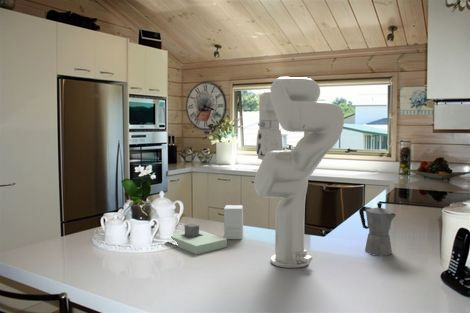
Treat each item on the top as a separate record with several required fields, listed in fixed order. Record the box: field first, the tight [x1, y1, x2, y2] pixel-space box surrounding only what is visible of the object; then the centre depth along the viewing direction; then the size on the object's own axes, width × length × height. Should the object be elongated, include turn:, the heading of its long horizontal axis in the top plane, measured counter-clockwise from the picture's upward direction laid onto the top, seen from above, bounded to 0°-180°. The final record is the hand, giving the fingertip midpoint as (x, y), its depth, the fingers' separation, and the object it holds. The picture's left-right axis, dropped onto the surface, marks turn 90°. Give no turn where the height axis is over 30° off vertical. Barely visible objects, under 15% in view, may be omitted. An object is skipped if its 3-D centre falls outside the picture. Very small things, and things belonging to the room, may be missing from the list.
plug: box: [184, 223, 200, 238], centre depth 160 cm, size 4×4×7 cm
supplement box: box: [223, 204, 244, 240], centre depth 169 cm, size 7×7×13 cm
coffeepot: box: [358, 202, 397, 256], centre depth 149 cm, size 15×9×18 cm, turn 34°
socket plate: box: [171, 229, 228, 255], centre depth 158 cm, size 20×14×3 cm
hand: (268, 173), depth 158 cm, fingers closed
